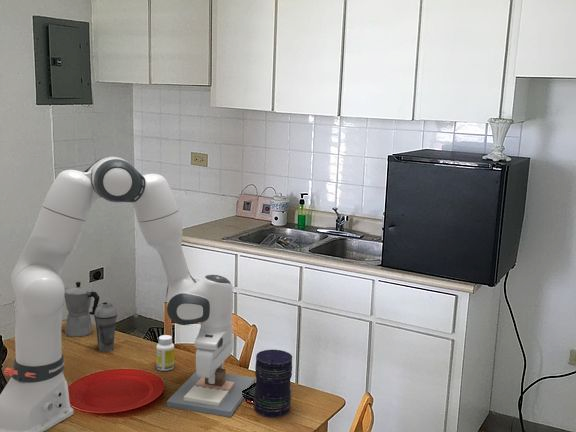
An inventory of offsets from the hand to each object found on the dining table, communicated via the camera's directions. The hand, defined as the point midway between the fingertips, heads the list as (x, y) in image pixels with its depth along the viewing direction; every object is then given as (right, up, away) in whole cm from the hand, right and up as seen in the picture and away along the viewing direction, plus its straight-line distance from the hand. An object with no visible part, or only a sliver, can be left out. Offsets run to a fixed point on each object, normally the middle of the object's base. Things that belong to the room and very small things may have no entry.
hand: (215, 379), depth 181 cm
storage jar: (+16, -6, -8) cm, 19 cm away
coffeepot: (-51, +6, +41) cm, 65 cm away
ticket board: (0, -4, -1) cm, 4 cm away
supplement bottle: (-17, -1, +15) cm, 23 cm away
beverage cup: (-39, +3, +28) cm, 48 cm away
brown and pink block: (0, -2, 0) cm, 2 cm away
